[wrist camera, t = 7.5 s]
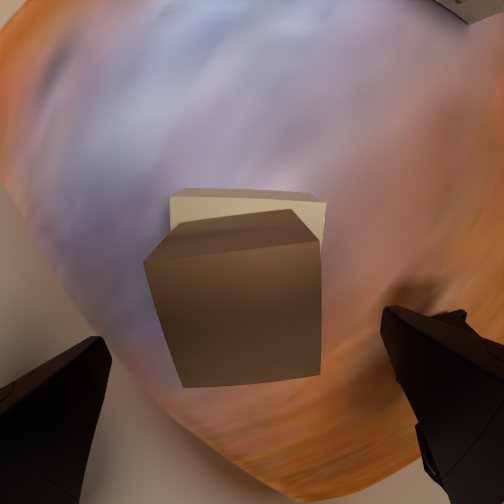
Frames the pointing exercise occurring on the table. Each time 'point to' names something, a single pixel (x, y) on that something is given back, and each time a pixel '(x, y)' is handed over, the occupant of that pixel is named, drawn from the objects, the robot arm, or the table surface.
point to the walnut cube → (239, 298)
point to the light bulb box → (473, 8)
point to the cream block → (245, 205)
